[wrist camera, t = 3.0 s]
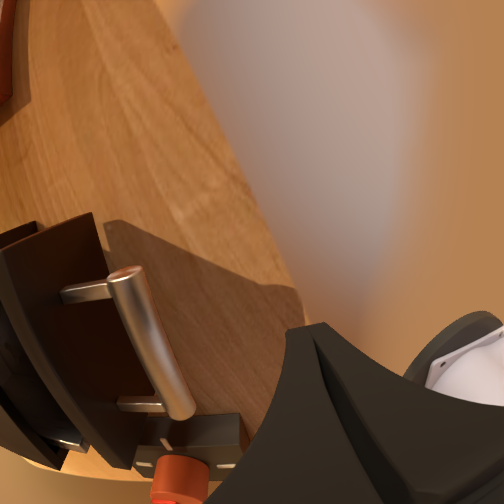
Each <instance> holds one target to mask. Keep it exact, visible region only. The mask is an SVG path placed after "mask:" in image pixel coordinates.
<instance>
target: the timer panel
mask: <svg viewBox="0 0 504 504" xmlns="http://www.w3.org/2000/svg"><path fill="white" fill-rule="evenodd" d="M249 445H250V440H249V438H248V435H247V432H246V430H245V427H244V424H243V421H242V419H241V416H240V413H235V414H224V415H212V416H195V417H190V418H188V419H186V420H180V421H179V420H174V419H172V418H171V417H147V419H146V422H145V425H144V428H143V431H142V435H141V438H140V441H139V444H138V448H137V451H136V454H135V458H134V461H133V465H132V466H133V467H134V468H135V469H136V470H137V471H138V472H139V473H140V474H141V475H142V476H143V477H144V478H154V474H155V470H156V465H157V461H158V459H159V458H160V457H161V456H164V455H182V456H187V457H191V458H194V459H197V460H199V461H201V462H203V463H204V464H206V465H207V466H208V468H209V481H224V480H225V478H226V477H227V476H228V475H229V473H230V472H231V471H232V469H233V468H234V467H235V465H236V464H237V463H238V461H239V460H240V458H241V457H242V456H243V454H244V453H245V451H246V450H247V448H248V447H249Z"/></svg>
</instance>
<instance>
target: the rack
mask: <svg viewBox="0 0 504 504" xmlns="http://www.w3.org/2000/svg"><path fill="white" fill-rule="evenodd" d="M0 386H1V387H2V389H3V390H4V392H5V393H6V394H7V396H8V397H9V399H10V400H11V402H12V403H13V404H14V406H15V407H16V408H17V410H18V411H19V412H20V414H21V415H22V416H23V417H24V419H25V420H26V421H27V422H28V424H29V425H30V426H31V427H32V428H33V430H34V431H35V432H36V433H37V434H38V435H39V437H40V438H41V439H42V440H43V441H44V442H45V443H47V444H51V445H54V446H58V447H61V448H65V449H69V450H73V451H77V452H81V453H87V452H88V449H89V447H90V445H92V447H93V448H94V449H95V450H96V451H97V452H98V453H99V454H100V455H101V456H102V457H103V458H104V459H105V460H106V461H107V462H108V463H109V464H110V465H111V466H112V467H114V468H120V469H126V470H131V468H132V465H133V461H134V458H135V454H136V451H137V448H138V444H139V441H140V438H141V435H142V431H143V428H144V425H145V422H146V419H147V416H148V412H166V411H167V413H168V415H169V416H170V417H171V418H172V419H174V420H179V421H180V420H186V419H188V418H190V417H191V416H193V415H194V413H195V411H196V404H195V402H194V400H193V398H192V395H191V393H190V391H189V389H188V387H187V384H186V382H185V380H184V378H183V375H182V373H181V371H180V368H179V366H178V364H177V361H176V359H175V356H174V354H173V351H172V349H171V346H170V344H169V341H168V339H167V336H166V334H165V331H164V328H163V326H162V323H161V320H160V318H159V315H158V312H157V309H156V306H155V303H154V300H153V298H152V295H151V292H150V289H149V285H148V282H147V279H146V276H145V273H144V270H143V268H142V266H139V265H134V266H128V267H124V268H121V269H119V270H117V271H115V272H113V273H111V274H110V273H109V270H108V267H107V264H106V260H105V257H104V254H103V251H102V247H101V244H100V240H99V237H98V233H97V230H96V226H95V222H94V218H93V214H92V212H89V213H86V214H83V215H80V216H77V217H74V218H71V219H69V220H66V221H64V222H61V223H59V224H56V225H54V226H51V227H49V228H46V229H44V230H42V231H39V232H37V233H35V234H32V235H30V236H28V237H26V238H23V239H21V240H19V241H17V242H15V243H13V244H10V245H8V246H6V247H4V248H2V249H0ZM155 392H156V393H157V395H158V396H154V394H155Z"/></svg>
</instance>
